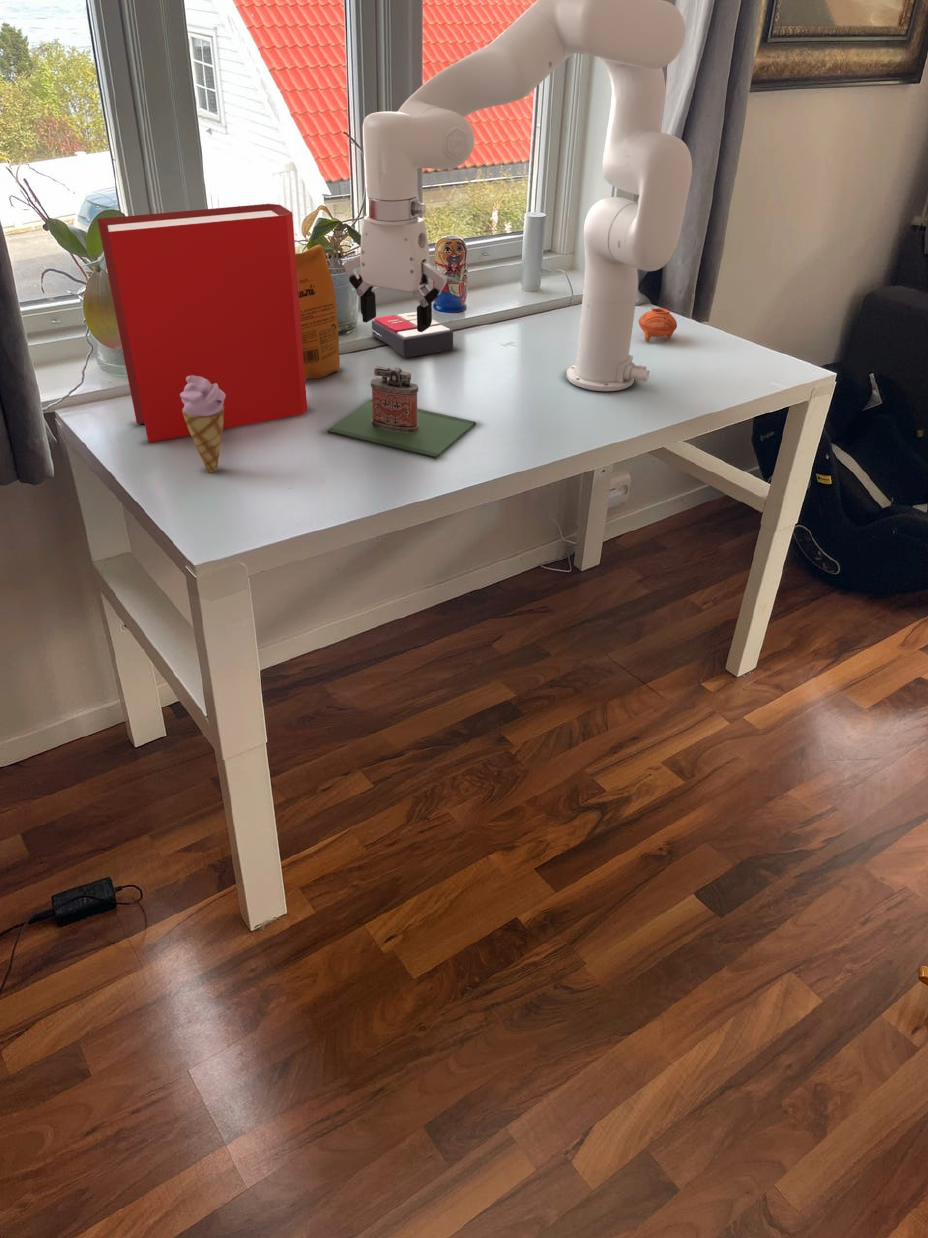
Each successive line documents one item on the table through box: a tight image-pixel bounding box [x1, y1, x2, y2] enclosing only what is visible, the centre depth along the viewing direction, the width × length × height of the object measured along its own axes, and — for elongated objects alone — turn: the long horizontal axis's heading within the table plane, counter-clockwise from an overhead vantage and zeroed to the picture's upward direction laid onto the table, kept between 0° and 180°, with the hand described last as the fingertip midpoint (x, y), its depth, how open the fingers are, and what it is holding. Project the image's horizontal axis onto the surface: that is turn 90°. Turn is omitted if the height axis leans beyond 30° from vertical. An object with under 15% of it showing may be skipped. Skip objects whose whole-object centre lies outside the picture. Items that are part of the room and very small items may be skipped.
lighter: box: [370, 365, 419, 433], centre depth 153 cm, size 8×3×10 cm, turn 71°
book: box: [97, 203, 308, 444], centre depth 148 cm, size 27×8×32 cm, turn 118°
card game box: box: [371, 311, 454, 358], centre depth 188 cm, size 11×4×15 cm
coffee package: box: [295, 244, 341, 380], centre depth 169 cm, size 10×12×22 cm
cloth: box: [326, 399, 477, 460], centre depth 156 cm, size 20×15×1 cm
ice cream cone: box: [180, 375, 226, 474], centre depth 138 cm, size 7×6×15 cm
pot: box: [638, 307, 678, 343], centre depth 193 cm, size 8×8×7 cm
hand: (396, 324), depth 147 cm, fingers open, 9 cm apart
